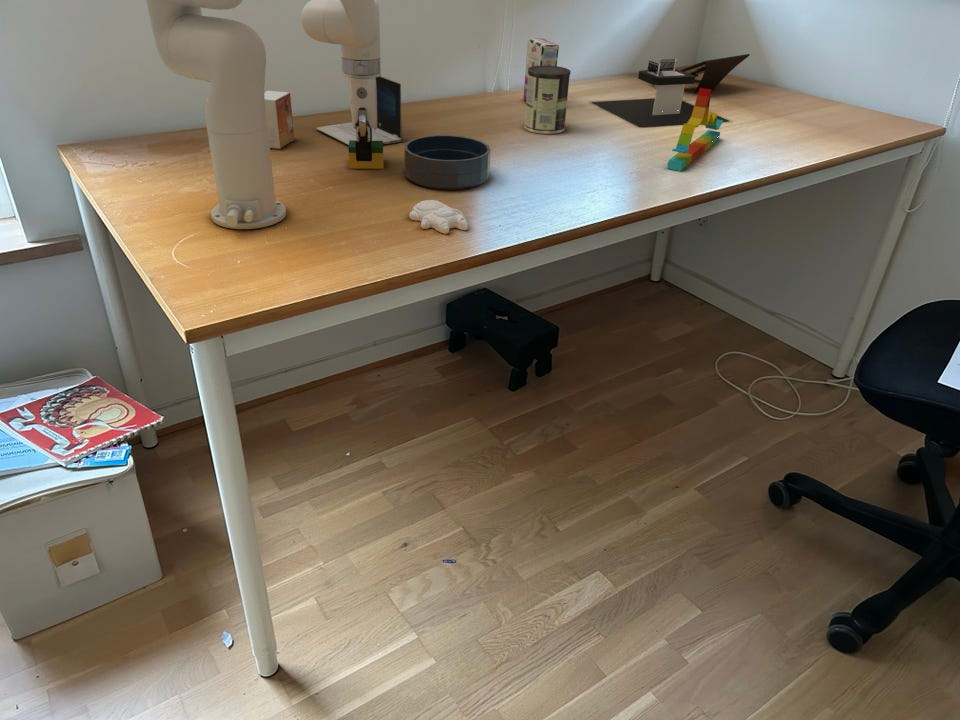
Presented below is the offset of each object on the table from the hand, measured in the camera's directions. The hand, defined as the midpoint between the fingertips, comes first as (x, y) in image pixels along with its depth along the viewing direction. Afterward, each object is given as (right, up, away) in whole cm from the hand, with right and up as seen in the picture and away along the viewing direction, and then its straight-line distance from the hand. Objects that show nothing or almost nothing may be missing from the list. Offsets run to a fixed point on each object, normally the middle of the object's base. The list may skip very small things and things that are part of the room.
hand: (364, 153), depth 152 cm
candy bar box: (+40, +28, +52) cm, 71 cm away
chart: (+74, +5, +19) cm, 77 cm away
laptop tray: (+91, +43, +78) cm, 127 cm away
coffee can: (+40, +15, +31) cm, 53 cm away
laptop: (-4, +9, +19) cm, 22 cm away
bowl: (+17, -5, -2) cm, 18 cm away
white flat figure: (+17, -19, -22) cm, 34 cm away
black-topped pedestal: (+74, +26, +51) cm, 93 cm away
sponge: (0, -2, +2) cm, 3 cm away
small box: (-22, +5, +12) cm, 25 cm away
